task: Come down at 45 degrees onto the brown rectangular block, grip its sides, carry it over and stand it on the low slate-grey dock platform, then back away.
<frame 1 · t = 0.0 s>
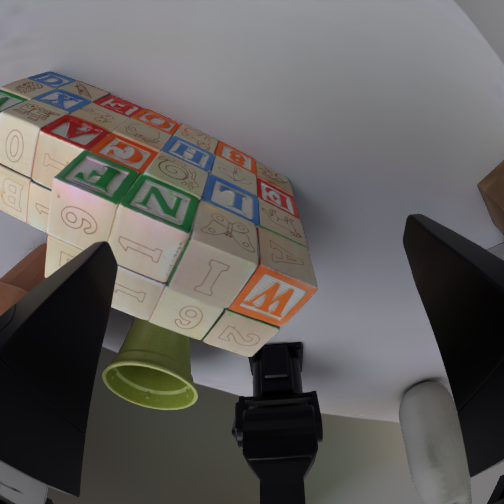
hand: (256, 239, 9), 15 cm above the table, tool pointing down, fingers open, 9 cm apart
potted plant: (65, 274, 30), on the table
stack of blocks: (148, 149, 22), on the table
plant pot: (164, 321, 34), on the table
glass bottle: (418, 385, 46), on the table
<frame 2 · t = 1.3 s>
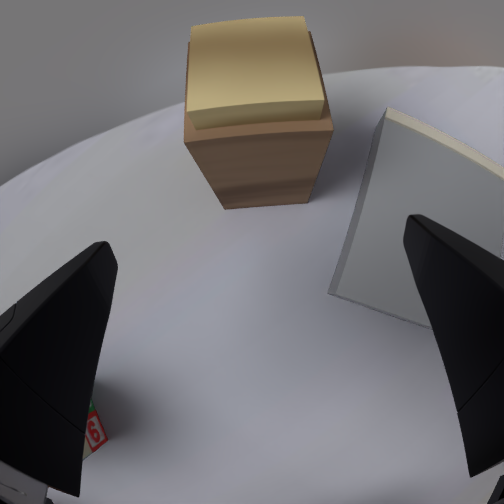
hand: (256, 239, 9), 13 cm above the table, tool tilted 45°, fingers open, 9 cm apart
brown rectangular block: (262, 167, 23), on the table
stack of blocks: (24, 411, 22), on the table
dock: (425, 230, 22), on the table
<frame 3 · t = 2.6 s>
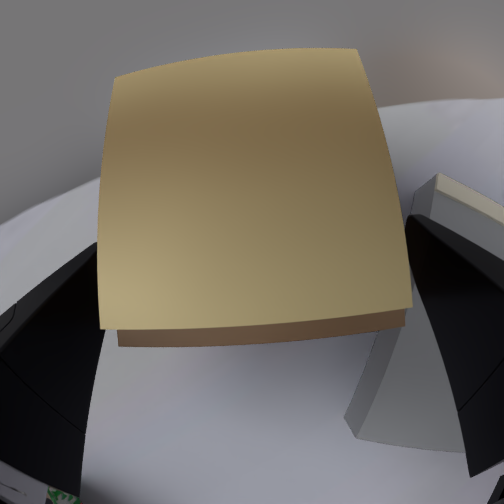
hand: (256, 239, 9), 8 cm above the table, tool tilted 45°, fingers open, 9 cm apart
brown rectangular block: (264, 258, 17), on the table
stack of blocks: (12, 488, 16), on the table
dock: (465, 329, 16), on the table
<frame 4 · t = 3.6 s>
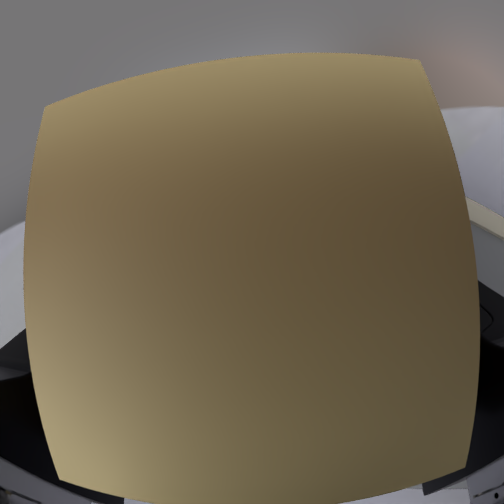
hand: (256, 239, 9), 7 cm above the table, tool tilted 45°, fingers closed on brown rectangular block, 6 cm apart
brown rectangular block: (266, 290, 15), on the table, touching gripper
dock: (480, 362, 14), on the table
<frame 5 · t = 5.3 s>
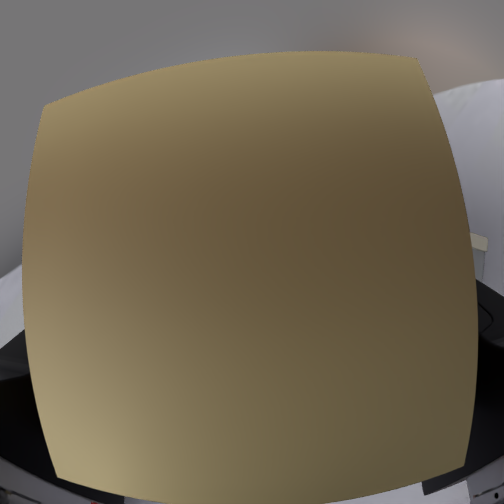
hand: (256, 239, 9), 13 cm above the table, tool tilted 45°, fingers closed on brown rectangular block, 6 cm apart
brown rectangular block: (265, 290, 15), point 7 cm above the table, touching gripper
dock: (388, 320, 21), on the table
when the fingers open (11 cm above the table, at t = 6.8 s): brown rectangular block drops 1 cm, resting on dock.
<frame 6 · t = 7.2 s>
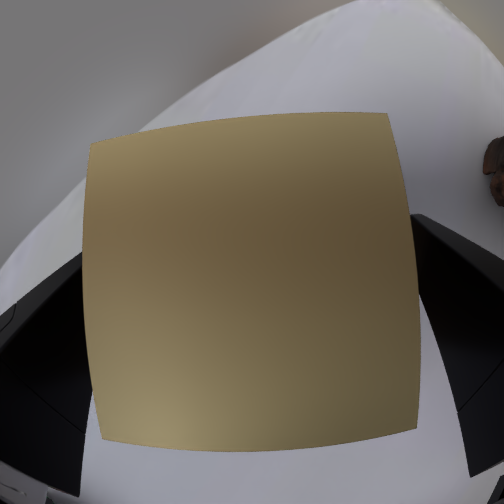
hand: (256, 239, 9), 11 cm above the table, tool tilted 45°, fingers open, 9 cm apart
brown rectangular block: (265, 290, 17), point 3 cm above the table, touching dock
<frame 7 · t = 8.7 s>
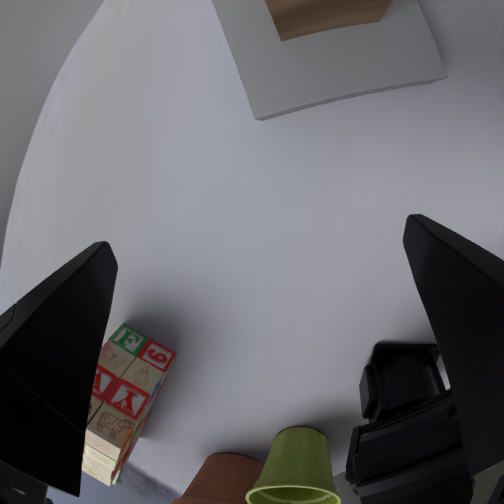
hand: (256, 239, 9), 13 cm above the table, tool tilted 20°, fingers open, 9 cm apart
potted plant: (237, 466, 36), on the table
stack of blocks: (132, 391, 33), on the table
dock: (315, 6, 16), on the table
plant pot: (301, 438, 31), on the table
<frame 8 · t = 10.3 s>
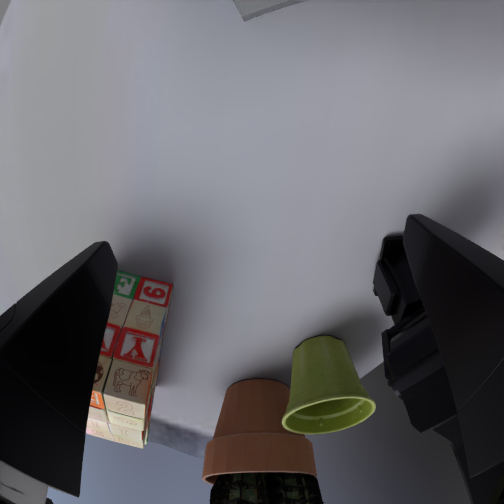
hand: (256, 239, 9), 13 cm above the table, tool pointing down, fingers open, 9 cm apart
potted plant: (258, 392, 40), on the table
stack of blocks: (136, 339, 33), on the table
plant pot: (318, 348, 34), on the table
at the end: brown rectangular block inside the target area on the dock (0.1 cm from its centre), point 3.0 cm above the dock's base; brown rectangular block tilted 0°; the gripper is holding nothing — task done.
